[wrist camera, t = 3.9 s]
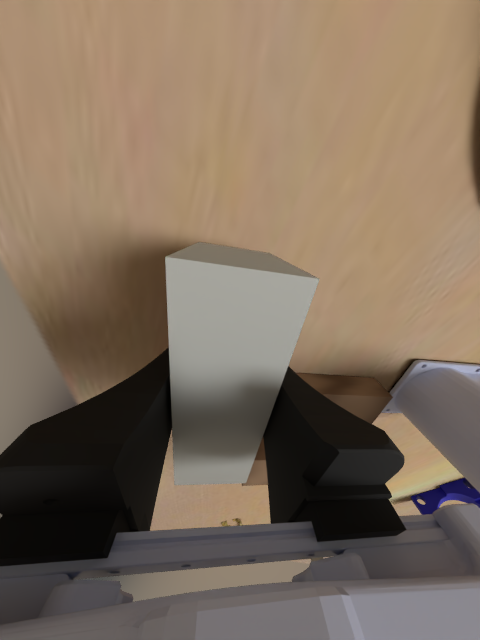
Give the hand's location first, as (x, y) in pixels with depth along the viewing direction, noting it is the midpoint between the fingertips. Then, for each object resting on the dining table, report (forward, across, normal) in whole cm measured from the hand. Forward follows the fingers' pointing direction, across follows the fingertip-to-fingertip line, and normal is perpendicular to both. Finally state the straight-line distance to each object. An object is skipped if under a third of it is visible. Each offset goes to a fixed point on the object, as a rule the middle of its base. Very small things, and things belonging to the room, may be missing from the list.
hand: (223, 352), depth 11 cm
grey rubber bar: (+2, 0, 0) cm, 2 cm away
